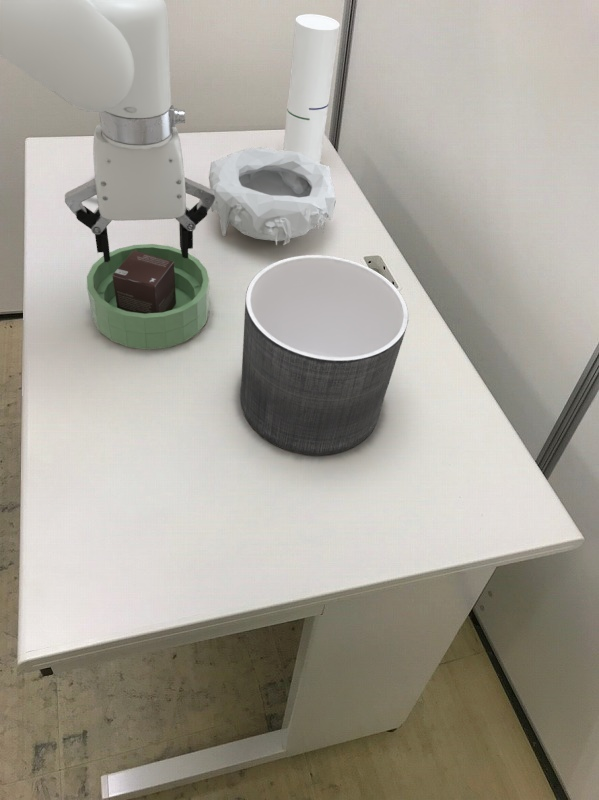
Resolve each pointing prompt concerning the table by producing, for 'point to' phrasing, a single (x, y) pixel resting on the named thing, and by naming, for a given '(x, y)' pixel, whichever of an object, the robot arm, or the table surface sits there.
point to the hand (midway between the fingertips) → (146, 253)
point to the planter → (319, 352)
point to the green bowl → (150, 326)
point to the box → (145, 284)
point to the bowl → (271, 193)
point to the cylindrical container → (310, 84)
